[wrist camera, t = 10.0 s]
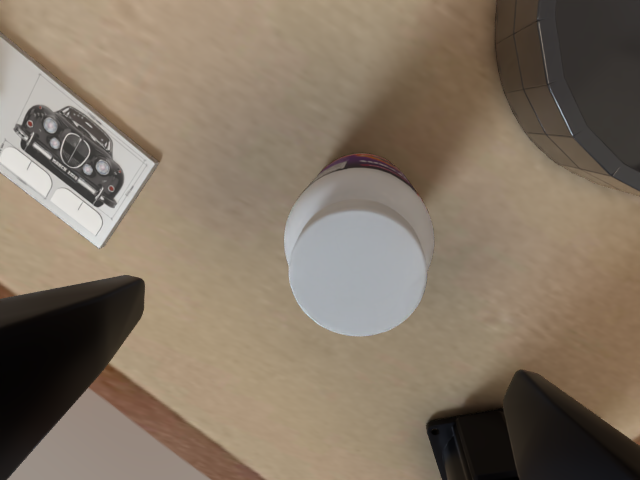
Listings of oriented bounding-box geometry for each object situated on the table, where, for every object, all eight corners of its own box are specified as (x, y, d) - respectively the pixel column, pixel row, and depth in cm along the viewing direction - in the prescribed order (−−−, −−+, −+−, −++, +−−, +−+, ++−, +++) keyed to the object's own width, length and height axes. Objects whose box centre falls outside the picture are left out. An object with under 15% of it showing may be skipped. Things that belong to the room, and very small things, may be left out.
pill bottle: (433, 206, 19) (496, 286, 10) (356, 269, 21) (350, 388, 12) (363, 128, 18) (363, 138, 9) (289, 200, 20) (226, 269, 11)
